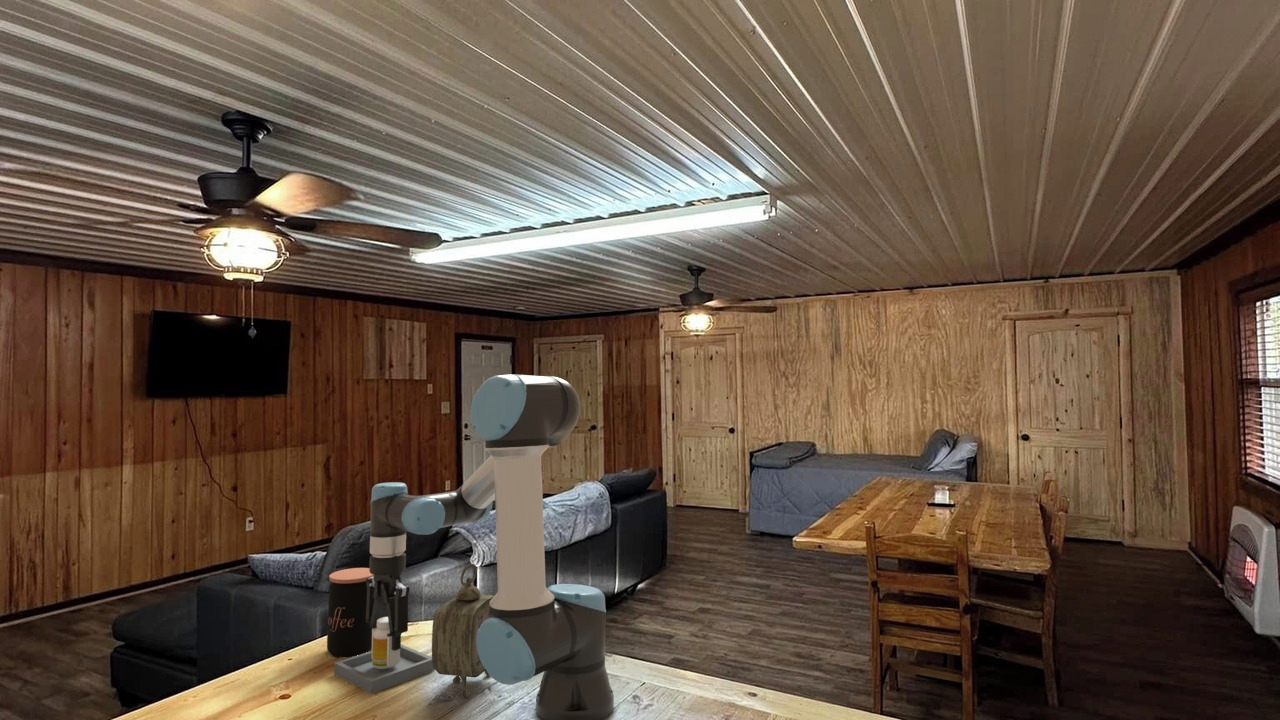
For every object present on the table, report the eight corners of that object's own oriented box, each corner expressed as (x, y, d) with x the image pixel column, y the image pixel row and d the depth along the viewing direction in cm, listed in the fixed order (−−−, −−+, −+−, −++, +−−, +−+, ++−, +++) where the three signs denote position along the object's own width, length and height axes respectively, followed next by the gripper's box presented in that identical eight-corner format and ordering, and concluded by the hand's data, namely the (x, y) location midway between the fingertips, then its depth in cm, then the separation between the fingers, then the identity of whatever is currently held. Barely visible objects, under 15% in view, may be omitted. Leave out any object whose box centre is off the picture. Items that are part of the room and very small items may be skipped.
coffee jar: (317, 652, 155) (319, 574, 156) (359, 638, 164) (361, 565, 165) (342, 662, 149) (345, 582, 150) (384, 647, 158) (386, 572, 159)
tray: (434, 670, 145) (435, 658, 145) (371, 694, 133) (371, 681, 133) (396, 653, 154) (397, 642, 154) (334, 674, 142) (334, 662, 143)
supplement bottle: (395, 668, 142) (396, 622, 142) (369, 670, 141) (370, 624, 141) (400, 658, 147) (401, 614, 147) (375, 660, 146) (376, 616, 147)
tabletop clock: (469, 703, 130) (471, 574, 131) (427, 698, 131) (430, 572, 133) (499, 672, 144) (501, 557, 145) (461, 669, 146) (463, 555, 147)
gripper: (427, 556, 142) (425, 665, 141) (381, 544, 154) (378, 645, 152) (395, 563, 137) (393, 677, 135) (350, 550, 148) (347, 655, 147)
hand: (385, 660), depth 144 cm, fingers closed on supplement bottle, 5 cm apart
